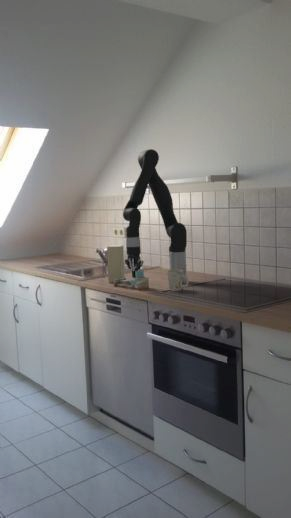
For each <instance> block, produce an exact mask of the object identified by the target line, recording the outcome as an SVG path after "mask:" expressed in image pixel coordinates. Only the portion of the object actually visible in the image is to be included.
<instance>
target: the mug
mask: <svg viewBox="0 0 291 518" xmlns="http://www.w3.org/2000/svg"><path fill="white" fill-rule="evenodd" d="M166 275H167V281H168V287H169V290H170V291H171V292H179V291H182V290H183V289H185V288H187V287H188V286H189V282H190V281H189V278H188V275H187V276H185V275H183V270H170V269H169V270H167V271H166ZM183 277H184V278H185V279H186V283H185V285H184V286H183V283H182V281H183Z"/></svg>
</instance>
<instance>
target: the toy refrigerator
mask: <svg viewBox="0 0 291 518" xmlns="http://www.w3.org/2000/svg"><path fill="white" fill-rule="evenodd" d="M106 251H107V252H106V254H107V275H108V276H107V277H108V284H114V281H113V280H115V279H121V278H126V275H125V256H124V253H125V251H124V245H122V244H121V245H116V244H115V245H107V247H106Z"/></svg>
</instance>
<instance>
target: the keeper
mask: <svg viewBox="0 0 291 518" xmlns="http://www.w3.org/2000/svg"><path fill="white" fill-rule="evenodd" d="M144 271H145V270H143V269H140V270H138V271H135V276H136V278H140V277H145V274H144V273H145V272H144ZM130 281H131V286H135V278H133V279H131V280H130Z"/></svg>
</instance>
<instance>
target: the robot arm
mask: <svg viewBox="0 0 291 518" xmlns="http://www.w3.org/2000/svg"><path fill="white" fill-rule="evenodd" d="M159 158H160V156H159V153H158V152H157V150H155V149H151V148H150V149H147V150H144V151H141V152H139V154H138V156H137V161H138V165H139V167H140V169H141V171H140V173H139V175H138V178H137V179H136V181H135V183H134V185H133V187H132V190H131V193H130V195H129V196H130V197H129V200H128V201H127V203H126V205H125V207H124V208H123V212H122V217H123V219H124V220H125V221H126V222H128V225H127V226H126V229H125V233H126V234H125V236H126V239H125V247H126V255H127V259H124V264H126V266H127V268H128V270H130V271H131V277H132V278H133V279H135V278H136V276H135V271H140V270H141V268H142V266H143V264H144V260H141V256H140V255H141V252H142V251H141V240H140V239H141V238H140V226H141V220H142V214H141V211H140V209H138V207H139V206H141V205H142V203H143V202H144V198H145V194H146V192H147V188H148V187H149V188H150V191H151V194H152V196H153V199H154V202H155V204H156V207H157V209H158V212H159V214H160V216H161V218H162V222H163V225H164V228H165V232H166V235H167V236H168V237H169V238H170V246H169V247H168V259H169V261H168V263H169V270H183V275H185V276H187V277H188V274H187V273H188V272H187V271H188V269H187V258H186V248H187V245H188V244H187V243H188V241H187V239H188V238H187V232H188V231H187V228H186V226H185V224H183V223H181V222H179V221H178V220H177V218H176V215H175V212H174V204H173V203H174V201H173V198H172V194H171V192H170V189H169V187H168V185H167V183H165V181H164V180H163V179H162V177H160V175H159V173H158V172H157V168H156V167H157V164H158V163H159V160H160V159H159ZM182 284H186V279H185V278H184V277H183V281H182Z"/></svg>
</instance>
